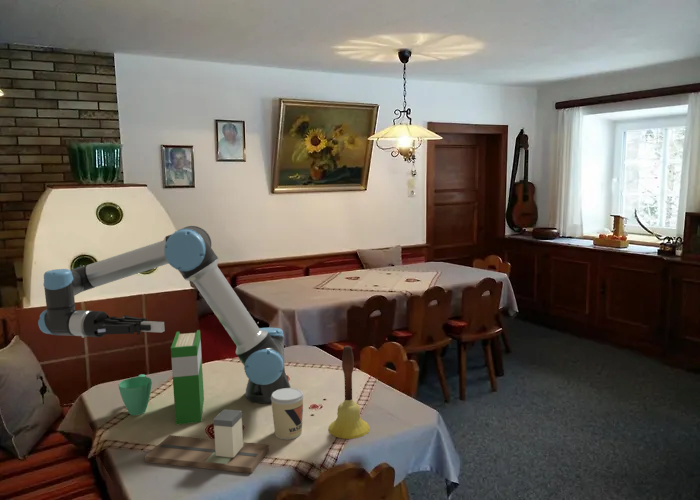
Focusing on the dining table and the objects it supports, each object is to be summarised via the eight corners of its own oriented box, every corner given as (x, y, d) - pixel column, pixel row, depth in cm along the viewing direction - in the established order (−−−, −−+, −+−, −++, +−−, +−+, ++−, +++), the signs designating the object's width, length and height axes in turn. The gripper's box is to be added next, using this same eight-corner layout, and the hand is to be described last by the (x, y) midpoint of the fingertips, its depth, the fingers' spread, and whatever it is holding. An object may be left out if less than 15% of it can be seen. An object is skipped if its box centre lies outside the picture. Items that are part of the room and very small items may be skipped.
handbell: (337, 442, 151) (335, 356, 148) (322, 424, 163) (319, 343, 159) (377, 433, 156) (376, 349, 153) (359, 416, 167) (358, 337, 164)
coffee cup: (291, 444, 151) (289, 402, 149) (265, 436, 156) (263, 396, 154) (311, 430, 159) (309, 391, 157) (285, 423, 164) (284, 385, 162)
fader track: (145, 461, 143) (144, 456, 143) (169, 440, 155) (169, 434, 154) (251, 473, 136) (251, 467, 136) (269, 449, 148) (268, 444, 148)
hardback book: (181, 401, 181) (176, 331, 178) (204, 399, 183) (200, 329, 180) (175, 424, 164) (170, 348, 161) (201, 421, 166) (196, 346, 162)
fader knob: (215, 455, 141) (213, 419, 140) (225, 444, 147) (223, 409, 146) (233, 457, 140) (231, 421, 139) (243, 446, 146) (241, 410, 145)
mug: (150, 417, 169) (148, 386, 168) (117, 420, 168) (114, 389, 167) (159, 398, 184) (157, 370, 182) (129, 401, 182) (127, 372, 181)
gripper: (106, 329, 166) (175, 333, 161) (76, 342, 153) (150, 347, 148) (104, 306, 165) (174, 308, 160) (73, 317, 152) (148, 320, 147)
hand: (162, 327), depth 154 cm, fingers closed
